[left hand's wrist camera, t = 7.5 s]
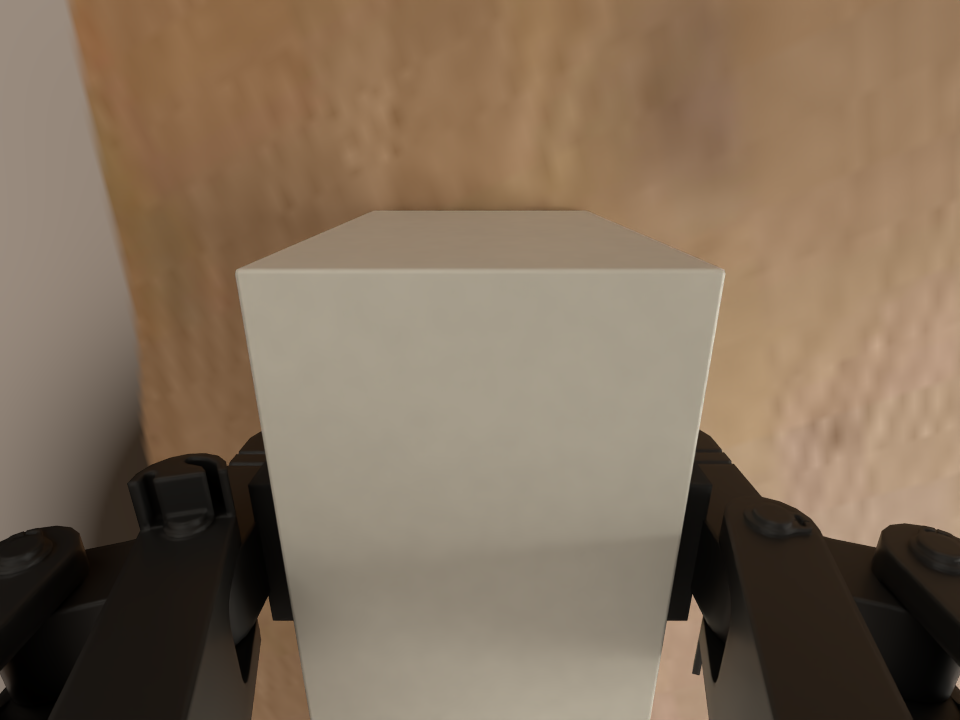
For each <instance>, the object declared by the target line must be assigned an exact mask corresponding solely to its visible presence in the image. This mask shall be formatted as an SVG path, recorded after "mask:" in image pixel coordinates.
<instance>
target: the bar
mask: <svg viewBox="0 0 960 720" xmlns="http://www.w3.org/2000/svg"><path fill="white" fill-rule="evenodd" d="M235 276H236V282H237V288H238V294H239V300H240V305H241V311H242V317H243V323H244V329H245V335H246V341H247V347H248V353H249V359H250V365H251V371H252V377H253V383H254V388H255V394H256V400H257V406H258V412H259V418H260V424H261V430H262V436H263V442H264V448H265V454H266V460H267V466H268V471H269V477H270V483H271V489H272V495H273V501H274V507H275V513H276V519H277V525H278V531H279V537H280V543H281V549H282V554H283V560H284V566H285V572H286V578H287V584H288V590H289V596H290V602H291V608H292V614H293V620H294V626H295V632H296V638H297V643H298V649H299V655H300V661H301V667H302V673H303V679H304V685H305V691H306V697H307V703H308V709H309V715H310V720H650V717H651V711H652V705H653V699H654V693H655V687H656V681H657V675H658V670H659V664H660V658H661V652H662V646H663V640H664V634H665V628H666V622H667V616H668V610H669V604H670V598H671V593H672V587H673V581H674V575H675V569H676V563H677V557H678V551H679V545H680V539H681V533H682V527H683V521H684V516H685V510H686V504H687V498H688V492H689V486H690V480H691V474H692V468H693V462H694V456H695V450H696V445H697V439H698V433H699V427H700V421H701V415H702V409H703V403H704V397H705V391H706V385H707V379H708V373H709V368H710V362H711V356H712V350H713V344H714V338H715V332H716V326H717V320H718V314H719V308H720V302H721V297H722V291H723V285H724V279H725V270H724V269H722V268H720V267H717V266H715V265H713V264H710V263H708V262H706V261H703V260H701V259H699V258H696V257H694V256H692V255H689V254H687V253H685V252H682V251H680V250H678V249H675V248H673V247H671V246H668V245H666V244H664V243H661V242H659V241H657V240H654V239H652V238H649V237H647V236H645V235H642V234H640V233H638V232H635V231H633V230H631V229H628V228H626V227H624V226H621V225H619V224H617V223H614V222H612V221H610V220H607V219H605V218H603V217H600V216H598V215H596V214H593V213H591V212H589V211H372V212H369V213H367V214H365V215H362V216H360V217H358V218H355V219H353V220H351V221H348V222H346V223H344V224H341V225H339V226H337V227H334V228H332V229H330V230H327V231H325V232H323V233H320V234H318V235H316V236H313V237H311V238H309V239H306V240H304V241H302V242H299V243H297V244H295V245H292V246H290V247H288V248H285V249H283V250H281V251H278V252H276V253H274V254H271V255H269V256H267V257H264V258H262V259H260V260H257V261H255V262H253V263H250V264H248V265H246V266H243V267H241V268H239V269H236V273H235Z"/></svg>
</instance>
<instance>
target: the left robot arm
mask: <svg viewBox="0 0 960 720" xmlns="http://www.w3.org/2000/svg"><path fill="white" fill-rule="evenodd" d="M127 485H128V488H129V492H130V495H131V499H132V502H133V506H134V509H135V513H136V516H137V520H138V523H139V527H140V532H139V535H138V537H137V538H136V539H134V540H130V541H126V542H121V543H116V544H112V545H106V546H102V547H96V548H92V549H86V550H85V549H84V546H83V543H82V540H81V537H80V534H79V533H78V532H77V531H75V530H74V529H73V528H71V527H63V526H51V527H43V528H35V529H31V530H27V531H26V532H20V533H18V534H15V535H12V536H10V537H9V538H7V539H5V540H3V541H1V542H0V675H1V677H2V679H3V681H4V683H5V686H6V688H5V689H4V690H3V691H2V692H1V693H0V720H251V717H252V709H253V701H254V693H255V684H256V676H257V668H258V660H259V652H260V644H261V636H260V629H259V624H258V619H257V618H258V616H259V613H260V611H261V609H262V607H263V605H264V603H265V601H266V599H267V597H268V596H269V602H270V607H271V612H272V618H273V621H294V620H293V614H292V608H291V602H290V596H289V590H288V584H287V578H286V572H285V566H284V560H283V554H282V549H281V543H280V537H279V531H278V525H277V519H276V513H275V507H274V501H273V495H272V489H271V483H270V477H269V471H268V466H267V460H266V454H265V448H264V442H263V436H262V431H261V432H259V433H258V434H256V435H254V436H253V437H251V438H250V439H249V440H248V441H247V443H246V444H245V445H244V446H243V447H242V448H241V450H240V451H239V454H236V456H235V457H234V458H233V459H232V460H231V462H230V463H229V466H227V465H226V461H225V460H223V459H222V458H220V457H219V456H217V455H212V454H206V453H199V454H186V455H181V456H176V457H172V458H168V459H166V460H163V461H160V462H158V463H155V464H152V465H150V466H149V467H147V468H145V469H144V470H142V471H140V472H139V473H137V474H136V475H135V476H134V477H133V478H132V479H131V480H130V481H129V482H128V483H127ZM692 594H693V596H694V598H695V600H696V602H697V604H698V606H699V608H700V610H701V612H702V614H703V619H702V624H701V629H700V634H699V639H698V644H697V649H696V654H695V659H694V665H693V672H692V674H696V675H700V670H701V665H702V667H703V675H704V683H705V691H706V699H707V707H708V715H709V720H960V690H959V689H958V687H957V686H956V682H957V680H958V678H959V676H960V539H959V538H957V537H955V536H953V535H952V534H950V533H948V532H945V531H942V530H939V529H937V530H936V529H935V528H932V527H928V526H920V525H913V524H905V523H904V524H895V525H889V526H888V527H887V528H885V529H884V530H883V531H882V532H881V535H880V538H879V541H878V544H877V547H871V546H866V545H861V544H856V543H851V542H846V541H841V540H836V539H831V538H827V537H824V536H823V535H822V533H821V531H820V530H819V528H818V527H817V526H816V525H815V523H814V522H813V521H812V520H811V518H809V517H808V516H806V515H805V514H803V513H802V512H801V511H799V510H798V509H796V508H794V507H791V506H789V505H787V504H785V503H782V502H780V501H776V500H772V499H768V498H764V497H761V495H760V494H759V493H758V492H757V491H756V490H755V488H754V487H753V486H752V485H751V484H750V482H749V481H748V480H747V479H746V478H745V477H744V475H743V474H742V473H741V472H740V471H739V470H738V468H737V467H736V466H735V465H734V464H732V463H731V460H730V459H729V458H728V457H727V455H726V454H725V453H724V452H722V449H721V448H720V447H719V446H718V445H717V444H716V442H715V441H714V440H713V439H712V438H711V436H709V435H707V434H706V433H704V432H702V431H701V430H699V433H698V439H697V445H696V450H695V456H694V462H693V468H692V474H691V480H690V486H689V492H688V498H687V504H686V510H685V516H684V521H683V527H682V533H681V539H680V545H679V551H678V557H677V563H676V569H675V575H674V581H673V587H672V593H671V598H670V604H669V610H668V616H667V621H687V619H688V614H689V609H690V603H691V598H692Z"/></svg>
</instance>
